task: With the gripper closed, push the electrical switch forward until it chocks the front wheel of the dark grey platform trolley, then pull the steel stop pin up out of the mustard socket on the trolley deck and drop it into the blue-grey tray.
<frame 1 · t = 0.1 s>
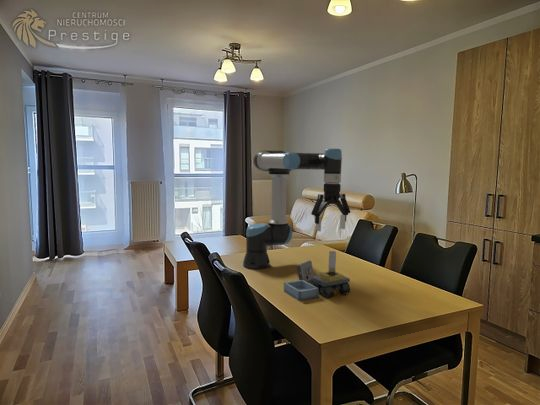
hand: (330, 229, 165), 28 cm above the table, fingers open, 13 cm apart
tray: (300, 294, 161), on the table
pin: (331, 278, 162), point 7 cm above the table, touching trolley
electrical switch: (305, 280, 181), on the table
trolley: (328, 291, 164), on the table
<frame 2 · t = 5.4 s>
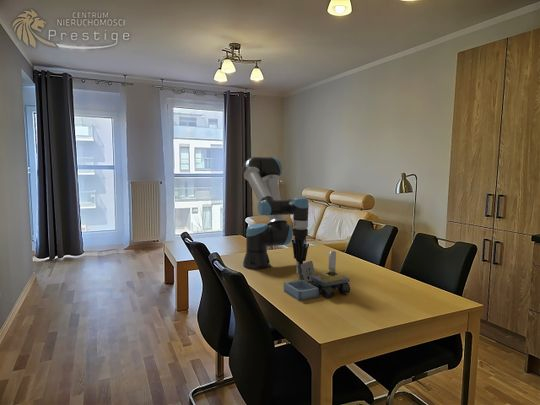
hand: (299, 273, 186), 2 cm above the table, fingers closed
electrical switch: (306, 280, 180), on the table, touching gripper
everything else where it was.
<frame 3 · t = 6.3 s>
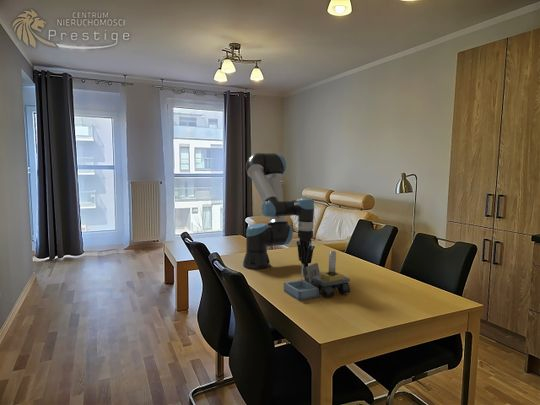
hand: (304, 275, 182), 2 cm above the table, fingers closed
electrical switch: (311, 283, 176), on the table, touching gripper
everything else where it was.
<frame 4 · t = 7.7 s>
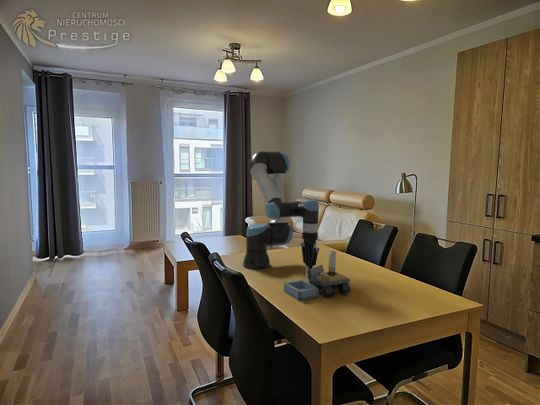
hand: (308, 278, 179), 1 cm above the table, fingers closed
electrical switch: (316, 285, 173), on the table, touching gripper
everything else where it was.
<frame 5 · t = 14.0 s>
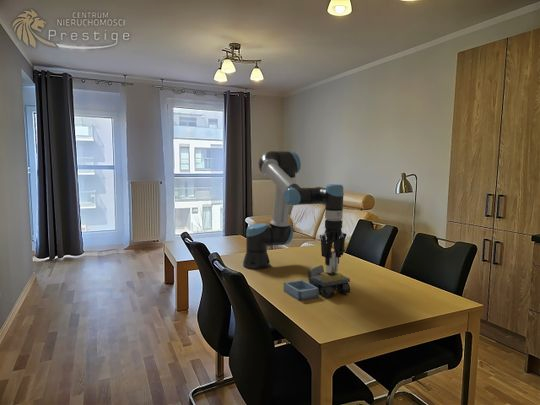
hand: (331, 271, 161), 10 cm above the table, fingers closed on pin, 3 cm apart
pin: (331, 278, 162), point 7 cm above the table, touching gripper, trolley
electrical switch: (316, 285, 173), on the table
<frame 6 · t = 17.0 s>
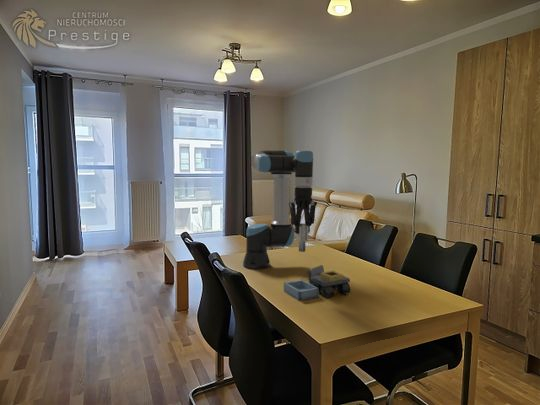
hand: (302, 240, 158), 24 cm above the table, fingers closed on pin, 3 cm apart
pin: (302, 250, 159), point 20 cm above the table, touching gripper
everything else where it was.
when the fingers open (6 cm above the table, at t = 20.2 s): pin drops 1 cm, resting on tray.
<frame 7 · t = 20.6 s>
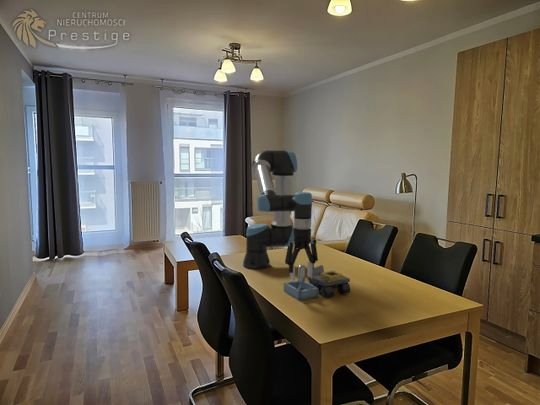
hand: (301, 278, 160), 7 cm above the table, fingers open, 8 cm apart
pin: (300, 292, 161), point 1 cm above the table, touching tray
everything else where it was.
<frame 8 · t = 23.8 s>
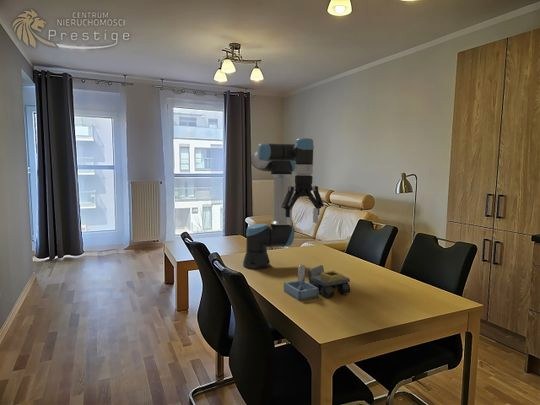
hand: (302, 223, 157), 32 cm above the table, fingers open, 13 cm apart
nothing on the table moved.
at the end: electrical switch inside the target area (1.5 cm from its centre), on the table; pin inside the target area on the tray (0.0 cm from its centre), point 1.0 cm above the tray's base; the gripper is holding nothing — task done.
